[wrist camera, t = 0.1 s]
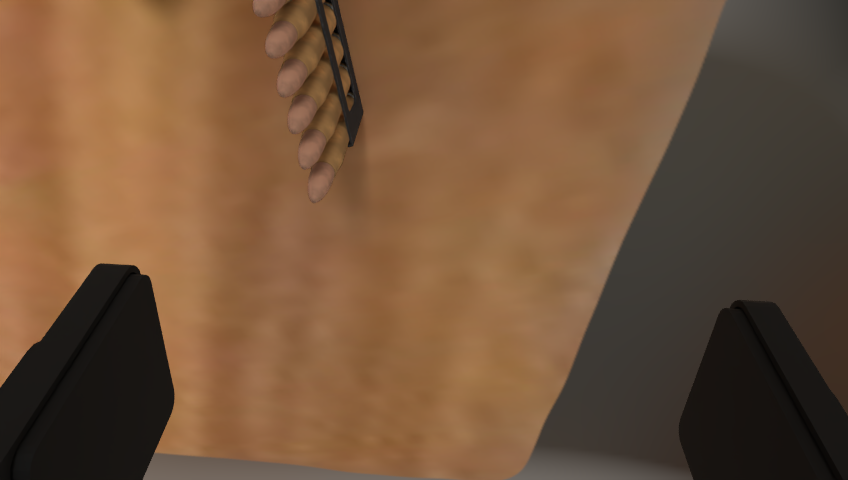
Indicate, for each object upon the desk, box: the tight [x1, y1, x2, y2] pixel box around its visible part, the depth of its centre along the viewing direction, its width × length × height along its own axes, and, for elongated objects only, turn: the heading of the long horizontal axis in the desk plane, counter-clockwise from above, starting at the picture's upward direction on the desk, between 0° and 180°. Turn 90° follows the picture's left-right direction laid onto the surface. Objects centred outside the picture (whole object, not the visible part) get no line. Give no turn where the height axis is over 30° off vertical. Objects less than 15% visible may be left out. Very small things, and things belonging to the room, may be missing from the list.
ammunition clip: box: [253, 0, 363, 203], centre depth 35 cm, size 11×2×12 cm, turn 10°
